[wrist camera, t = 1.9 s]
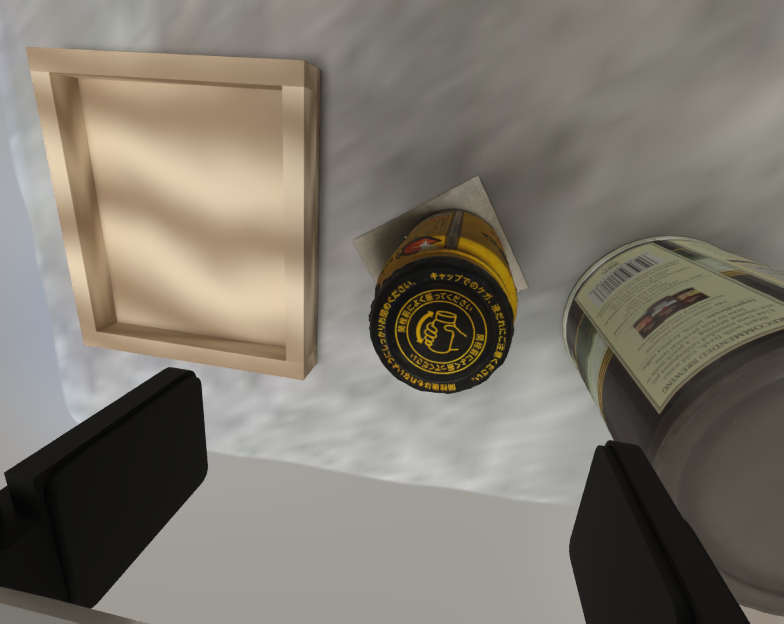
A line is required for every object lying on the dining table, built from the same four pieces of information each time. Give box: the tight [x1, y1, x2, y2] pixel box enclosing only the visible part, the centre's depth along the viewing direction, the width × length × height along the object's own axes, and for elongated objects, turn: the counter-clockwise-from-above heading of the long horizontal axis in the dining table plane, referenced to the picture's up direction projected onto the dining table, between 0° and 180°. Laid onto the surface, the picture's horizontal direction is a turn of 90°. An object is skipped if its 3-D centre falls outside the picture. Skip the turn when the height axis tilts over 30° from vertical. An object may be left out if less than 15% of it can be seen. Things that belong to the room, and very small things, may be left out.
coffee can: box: [563, 236, 784, 616], centre depth 19 cm, size 10×10×14 cm
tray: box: [26, 47, 321, 380], centre depth 27 cm, size 18×16×2 cm
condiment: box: [352, 176, 528, 394], centre depth 21 cm, size 7×8×12 cm
